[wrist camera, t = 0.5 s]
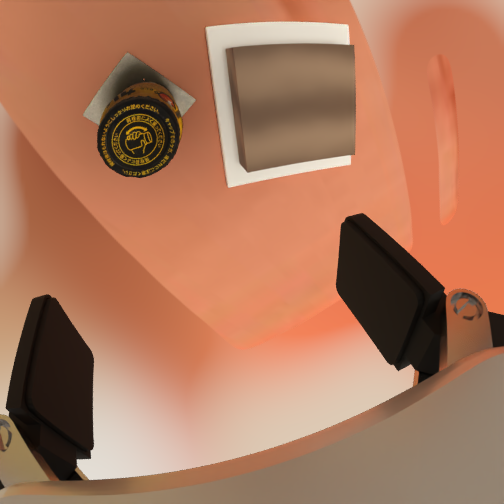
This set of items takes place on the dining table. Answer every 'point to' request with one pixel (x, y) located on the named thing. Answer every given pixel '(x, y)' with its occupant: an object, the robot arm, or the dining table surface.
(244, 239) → the dining table surface
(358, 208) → the dining table surface
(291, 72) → the plinth
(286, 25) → the base board
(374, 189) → the dining table surface
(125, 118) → the condiment
